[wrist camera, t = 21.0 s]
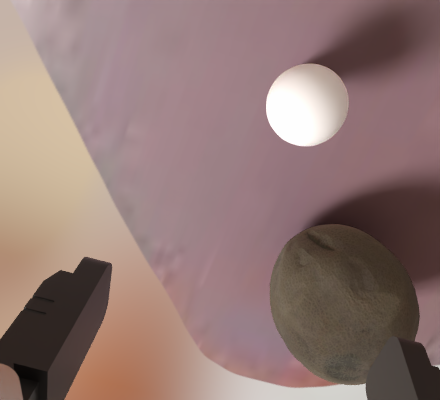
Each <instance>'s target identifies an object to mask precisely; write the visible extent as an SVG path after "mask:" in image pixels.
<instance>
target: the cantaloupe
mask: <svg viewBox="0 0 440 400" xmlns="http://www.w3.org/2000/svg"><path fill="white" fill-rule="evenodd" d="M270 305H271V312H272V316H273V320H274V323H275V325H276V328H277V330H278V332H279V334H280V335H281V337H282V339H283V340H284V342H285V344H286V346H287V347H288V349H289V351H290V352H291V353H292V354H293V356H294V357H295V358H296V359H297V360H298V361H300V362H301V363H302V364H303V365H304V366H305V367H306V368H307V369H308V370H309V371H310V372H312V373H313V374H314V375H316V376H318V377H320V378H322V379H324V380H327V381H329V382H333V383H337V384H345V385H359V384H365V383H366V379H367V374H368V372H369V369H370V368H371V366H372V364H373V363H374V361H375V360H376V358H377V357H378V355H379V353H380V352H381V350H382V349H383V347H384V345H385V344H386V342H387V341H388V339H389V338H390V337H392V336H395V337H399V338H403V339H407V340H411V341H415V337H416V334H417V331H418V326H419V318H420V315H419V305H418V301H417V296H416V292H415V289H414V286H413V284H412V281H411V279H410V277H409V275H408V273H407V271H406V270H405V268H404V267H403V265H402V264H401V263H400V261H399V260H398V259H397V258H396V257H395V256H394V255H393V254H392V252H391V251H389V250H388V249H387V248H386V247H385V246H384V245H382V244H381V243H380V242H379V241H378V240H376V239H375V238H373V237H372V236H371V235H369V234H367V233H365V232H363V231H361V230H359V229H357V228H354V227H350V226H346V225H340V224H327V225H319V226H314V227H311V228H308V229H306V230H304V231H302V232H300V233H299V234H297V235H296V236H294V237H293V238H292V239H290V240H289V241H288V242H287V244H286V245H285V246H284V248H283V249H282V251H281V253H280V254H279V257H278V259H277V261H276V263H275V265H274V268H273V271H272V276H271V282H270Z"/></svg>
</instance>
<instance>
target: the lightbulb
mask: <svg viewBox="0 0 440 400" xmlns="http://www.w3.org/2000/svg"><path fill="white" fill-rule="evenodd" d="M348 105H349V99H348V92H347V90H346V87H345V85H344V83H343V82H342V80H341V79H340V77H339V76H338V75H337V74H336V73H335V72H334V71H332V70H331V69H329V68H327V67H325V66H322V65H319V64H301V65H297V66H294V67H292V68H290V69H288V70H286V71H285V72H284V73H282V74H281V75H280V76H279V77H278V78H277V79H276V80H275V81H274V83H273V85H272V86H271V88H270V90H269V93H268V96H267V102H266V113H267V117H268V121H269V123H270V125H271V127H272V128H273V130H274V131H275V132H276V134H277V135H278V136H280V137H281V138H282V139H283V140H285V141H287V142H289V143H291V144H294V145H298V146H313V145H318V144H320V143H323V142H325V141H327V140H328V139H330V138H331V137H332V136H334V135H335V134H336V133H337V132H338V131H339V129H340V128H341V127H342V125H343V123H344V121H345V119H346V116H347V112H348Z"/></svg>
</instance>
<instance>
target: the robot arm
mask: <svg viewBox="0 0 440 400" xmlns="http://www.w3.org/2000/svg"><path fill="white" fill-rule="evenodd" d="M111 272H112V264H111V263H108V262H104V261H100V260H96V259H93V258H88V257H84V258H83V259H82V261H81V262H80V264H79V265H78V267H77V268H76V270H75V271H74V273H70V272H66V271H62V270H60V271H58V272H57V273H55V274H54V275H52V276H51V277H49V278H48V279H46V280H44V281H43V283H42V284H41V285H40V287H39V288H38V289H37V291H36V292H35V293H34V295H33V298H32V299H30V300H29V301H28V303H27V304H26V305H25V307H24V310H23V311H21V312H20V314H19V315H18V316H17V318H16V319H15V320H14V322H13V323H12V324H11V326H10V327H9V329H8V330H7V331H6V333H5V334H4V335H3V337H2V338H1V339H0V400H64V399H65V397H66V395H67V393H68V391H69V389H70V387H71V385H72V383H73V380H74V379H75V377H76V375H77V372H78V371H79V368H80V366H81V364H82V362H83V360H84V358H85V356H86V354H87V352H88V350H89V348H90V346H91V344H92V342H93V340H94V338H95V336H96V334H97V332H98V329H99V328H100V326H101V324H102V321H103V319H104V316H105V313H106V309H107V305H108V299H109V289H110V281H111ZM366 394H367V398H368V400H440V370H439V368H438V367H435V366H431V363H430V361H429V358H428V356H427V353H426V350H425V348H424V346H423V345H422V344H421V343H419V342H415V341H411V340H407V339H403V338H399V337H395V336H392V337H390V338H389V339H388V341H387V342H386V344H385V345H384V347H383V349H382V350H381V352H380V353H379V355H378V357H377V358H376V360H375V361H374V363H373V364H372V366H371V368H370V369H369V372H368V374H367V379H366Z"/></svg>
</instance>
